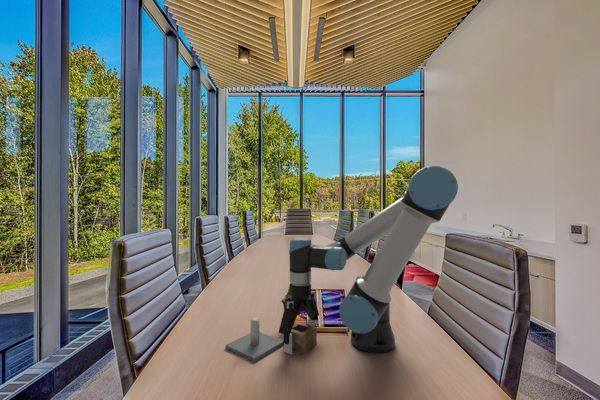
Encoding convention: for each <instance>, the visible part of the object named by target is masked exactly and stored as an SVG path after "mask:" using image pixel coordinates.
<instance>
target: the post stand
mask: <svg viewBox="0 0 600 400" xmlns="http://www.w3.org/2000/svg"><path fill="white" fill-rule="evenodd" d="M283 346H284V340H282V339H279V338H278V337H274V336H271V335H269V334H266V333H263V332H261V331H260V318H258V317H254V318H253V317H252V318H251V319H250V332H249V333H247V334H245V335H243V336H241V337H239V338H237V339H235V340H233V341H231V342H229V343H227V344H225V349H226V350H227V351H229V352H233V353H234V354H237V355H239V356H241V357H242V356H243V358H244V359H246V360H249V361H251V362H253V363H256V362H257V361H259V360H261V359H262V358H264V357H266V356H267V355H269V354H270V353H273V352H274V351H275V350H277V349H280V348H281V347H283Z"/></svg>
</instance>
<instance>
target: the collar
mask: <svg viewBox="0 0 600 400" xmlns="http://www.w3.org/2000/svg"><path fill="white" fill-rule="evenodd" d="M317 330H318V329H317V326H315V327H314V326H311V325H308V323H304V322H301V321H296V322H294V325H293V328H292V330H291V333H292V351H295V352H297V353H299V354H302V355H304V354H305V353H306V352H307V351H309V350H311V349H312V348H314V347H315V346H317V343H318V342H317Z"/></svg>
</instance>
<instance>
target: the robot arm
mask: <svg viewBox="0 0 600 400" xmlns="http://www.w3.org/2000/svg"><path fill="white" fill-rule="evenodd" d="M458 189H459V183H458V180H457V177H456V176H455V175H454V173H452V171H450V170H449V169H447V168H446V167H442V166H440V165H429V166H426V167H423V168H420V169H419V170H417V171H416V172H415V173H414V174H413V175H412V176H411V178H410V180H409V183H408V188H407V190H405V191H404V195H403V196H401V197H400V198H399V199H397V200H395V202H393V203H391V204H390V205H388V206H387V207H385V208H384V209H382V210H381V211H379V212H378V213H377V214H375V215H374V216H372V217H370V218H369V219H368V220H367V221H365V222H364V223H362V224H360V225H359V226H358V227H356V228H355V229H353V230H352V231H351V232H348V233H347V234H346V235H344V236H342V237H340V238H339V239H338V240H337V241H335V242H333V243H330V244H327V245H314V244H313V243H312V240H311V238H309V237H308V238H307V237H295V238H291V239H290V242H289V251H288V253H289V288H288V292H289V293H290V295H291V297H292V300H291V302H287V301H286V302H285V309H284V308H283V314H282V317H281V322H280V325H279V329H278V333H279V334H281V335H283V341H284V345H283V347H284V348H283V352H284V353H286V354H289V355H292V354H293V350H292V333H291V330H292V328H293V325H294V324H295V323H296V320H297V317H298V316H299V315H300V313H301V312H303V311H304V312H305V313H306V315H307V316H308V318H307V324H308V325H311V326H314V327H316V321H318V320H319V316H320V313H319V309H318V306H317V302H316V300H315V299H316V298H315V293H314V292H312V284H311V283H312V268H314V269H321V270H329V271H332V272H333V271H343V270H344V268H345V267H346V265H347V260H349V259H350V258H352V257H354V256H355V255H356V254H358V253H360V252H361V251H362V250H364V249H366V248H367V247H369V246H370V245H372V244H374V243H376V242H377V241H378V240H381V239H382V238H384V237H385V236H386V237H385V239H384V241H383V242H382V244H381V246H380V247H379V250H378V252H377V254H376V255H375V257H374V258H373V260H372V262H371V263H370V265H369V267H368V269H367V270H366V272H365V274H364V275H358V276H357V277H355V281H354V283H353V284H352V287H350V290H349V291H348V293H347V295H346V296H344V298H342V299H341V302H340V305H339V308H338V312H339V317H340V319H341V321H342V323H343V325H345V327H346V328H347V329H348V330H350V331H351V332H350V342H351V343H350V344H352V346H353V347H355V348H356V349H358V350H361V351H363V352H365V353H371V354H384V353H388V352H392V351H393V350H394V349H395V347H396V340H395V339H396V338H395V334H394V331H393V328H392V326H391V322H390V321H391V320H390V319H391V316H390V314H391V313H390V311H391V310H390V305H391V301H392V297H391V291H392V289H393V287H394V286H395V284H396V282H397V280H398V279H399V277H400V275H401V274H402V272H403V271H404V269H405V268H406V266H407V264H408V262H409V261H410V259H411V258H412V256H413V254H414V252H415V251H416V249H417V248H418V246H419V244H420V242H422V239H423V237H424V236H425V235H426V233H427V231H428V229H430V227H431V225H433V224H436V223H440V221H441V219H443V216H444V215H445V213H446V211H447V210H448V208H449V206H450V205H451V203H453V202H454V200H455V198H456V196H457V194H458ZM293 309H294V310H295V311H294V310H293Z"/></svg>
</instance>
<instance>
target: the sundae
mask: <svg viewBox="0 0 600 400" xmlns="http://www.w3.org/2000/svg"><path fill="white" fill-rule="evenodd" d="M288 289H289V287H288ZM291 300H292V297H291V295H290V293H289V291H288V292H286V294H285V297H284V298H283V299H282V300H281V303H282V305H283V310H284V309H285V302H286V301H287V302H291ZM293 310H294V309H293ZM294 311H295V310H294Z"/></svg>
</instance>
